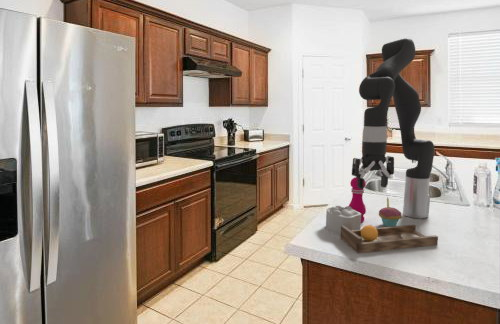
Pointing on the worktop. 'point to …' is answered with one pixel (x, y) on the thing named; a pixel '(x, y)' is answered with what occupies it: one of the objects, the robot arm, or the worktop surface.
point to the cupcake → (389, 215)
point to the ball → (369, 233)
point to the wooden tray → (387, 239)
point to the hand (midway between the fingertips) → (372, 187)
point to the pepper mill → (357, 198)
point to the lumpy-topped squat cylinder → (342, 219)
